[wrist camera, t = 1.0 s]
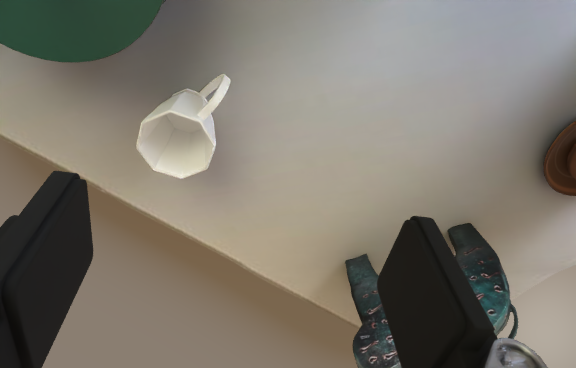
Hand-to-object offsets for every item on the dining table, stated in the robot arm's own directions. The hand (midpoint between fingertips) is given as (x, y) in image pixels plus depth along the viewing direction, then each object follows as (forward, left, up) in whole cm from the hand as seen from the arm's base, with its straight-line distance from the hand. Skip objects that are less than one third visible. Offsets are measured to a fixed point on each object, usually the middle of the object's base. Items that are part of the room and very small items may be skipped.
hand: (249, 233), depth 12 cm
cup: (+10, -4, -30) cm, 32 cm away
